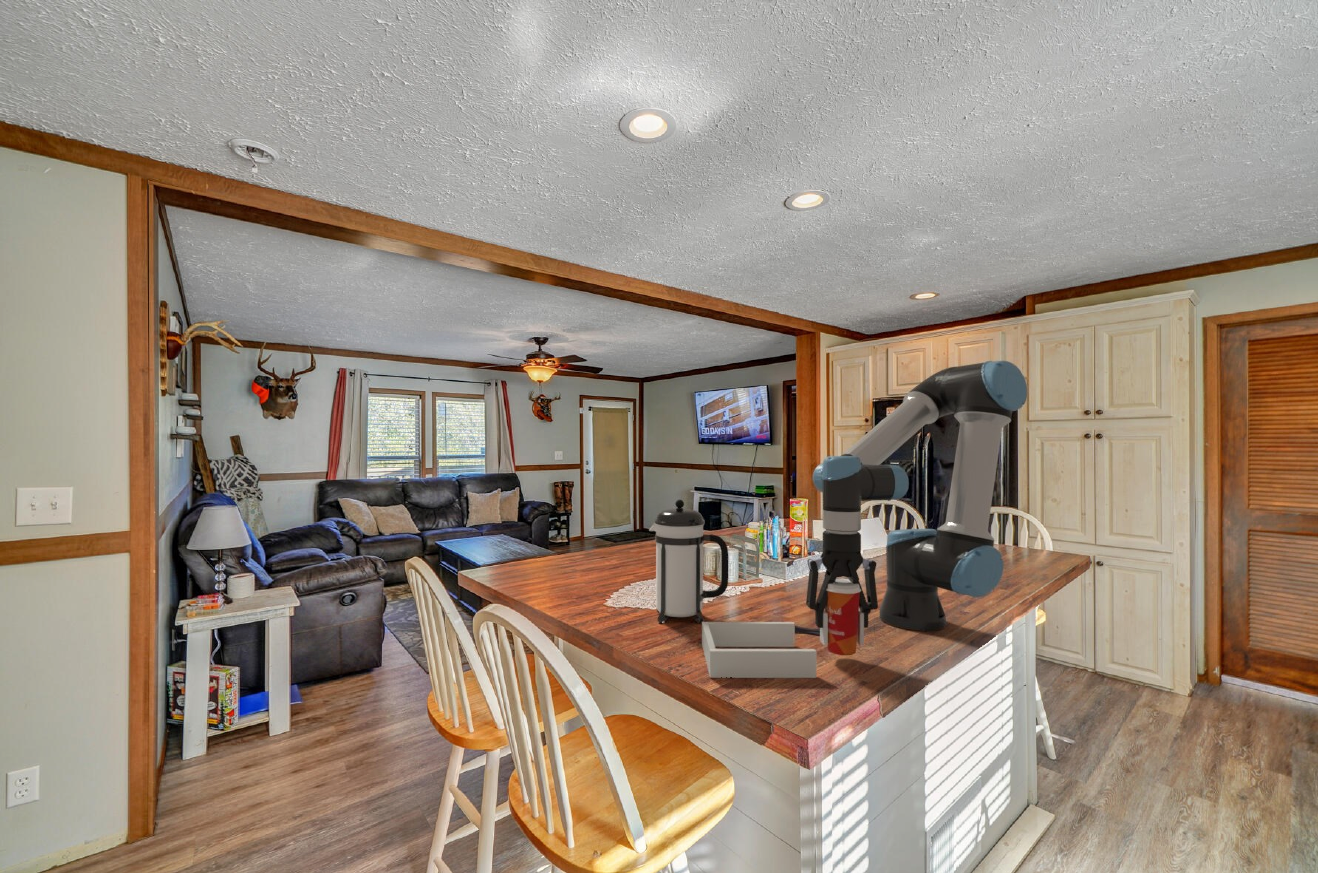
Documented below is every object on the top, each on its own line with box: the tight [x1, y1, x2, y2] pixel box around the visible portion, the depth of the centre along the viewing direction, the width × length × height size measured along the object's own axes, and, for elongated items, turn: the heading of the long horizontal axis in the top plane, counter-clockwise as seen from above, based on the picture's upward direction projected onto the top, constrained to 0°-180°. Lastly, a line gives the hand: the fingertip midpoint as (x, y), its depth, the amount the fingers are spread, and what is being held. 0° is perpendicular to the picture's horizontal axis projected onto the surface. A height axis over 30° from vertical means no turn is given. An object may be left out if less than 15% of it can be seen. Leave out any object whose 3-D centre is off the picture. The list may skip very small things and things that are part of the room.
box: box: [701, 621, 817, 679], centre depth 114 cm, size 20×17×5 cm
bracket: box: [781, 620, 820, 637], centre depth 131 cm, size 14×15×3 cm
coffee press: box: [648, 499, 729, 624], centre depth 143 cm, size 17×16×30 cm
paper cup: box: [824, 577, 861, 656], centre depth 114 cm, size 8×8×14 cm
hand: (841, 643), depth 114 cm, fingers closed on paper cup, 7 cm apart
